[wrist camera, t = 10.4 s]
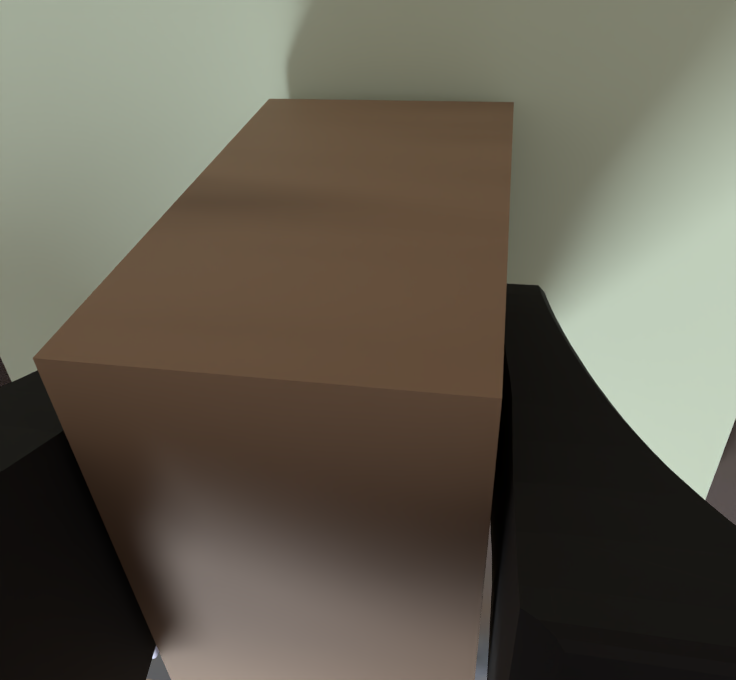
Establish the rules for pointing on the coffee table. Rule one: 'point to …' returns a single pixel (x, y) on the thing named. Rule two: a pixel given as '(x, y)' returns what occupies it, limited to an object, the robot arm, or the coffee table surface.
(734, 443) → the coffee table surface
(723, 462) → the coffee table surface
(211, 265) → the tall cardboard box
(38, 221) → the pitch
